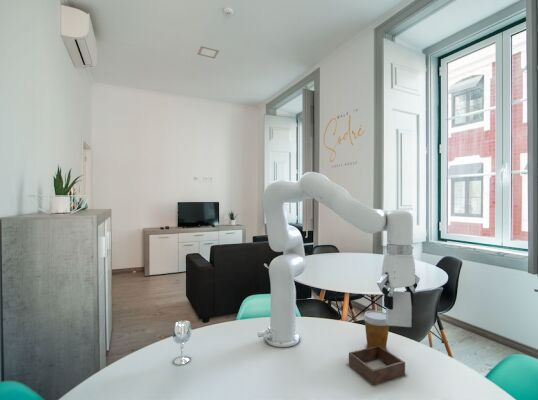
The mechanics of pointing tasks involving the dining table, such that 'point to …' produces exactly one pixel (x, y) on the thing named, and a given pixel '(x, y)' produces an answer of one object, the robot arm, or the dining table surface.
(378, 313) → the disposable coffee cup
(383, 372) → the crate
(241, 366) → the dining table surface
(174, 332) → the wineglass
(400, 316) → the white food carton
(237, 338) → the dining table surface
